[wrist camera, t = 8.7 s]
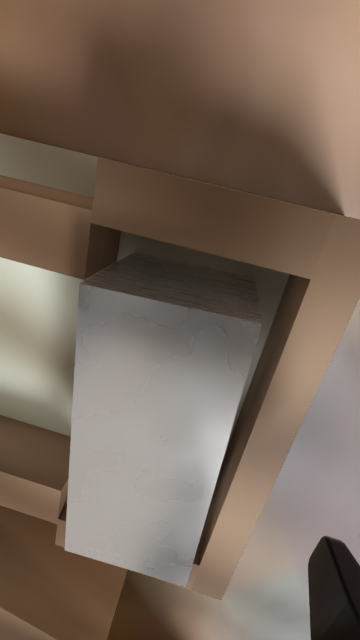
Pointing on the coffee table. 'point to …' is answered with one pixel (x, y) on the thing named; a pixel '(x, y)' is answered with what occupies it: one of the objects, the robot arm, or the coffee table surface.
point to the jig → (174, 244)
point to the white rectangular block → (154, 408)
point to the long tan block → (51, 585)
